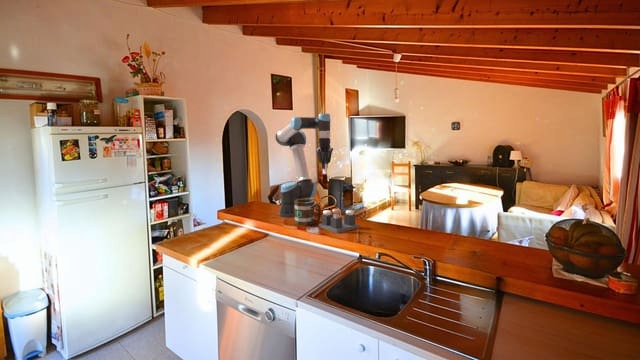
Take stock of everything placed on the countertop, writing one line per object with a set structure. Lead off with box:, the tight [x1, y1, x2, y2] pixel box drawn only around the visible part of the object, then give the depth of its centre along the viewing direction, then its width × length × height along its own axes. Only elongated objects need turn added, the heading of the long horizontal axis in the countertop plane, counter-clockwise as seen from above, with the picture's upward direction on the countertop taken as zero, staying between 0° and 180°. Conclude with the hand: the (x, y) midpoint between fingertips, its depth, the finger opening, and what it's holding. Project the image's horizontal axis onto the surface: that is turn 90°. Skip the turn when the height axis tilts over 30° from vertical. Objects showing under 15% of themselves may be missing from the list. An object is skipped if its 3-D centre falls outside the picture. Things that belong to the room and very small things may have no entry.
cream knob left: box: [345, 209, 355, 216], centre depth 217 cm, size 5×5×8 cm
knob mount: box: [318, 214, 360, 234], centre depth 218 cm, size 18×18×8 cm
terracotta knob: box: [331, 208, 341, 218], centre depth 210 cm, size 5×5×8 cm
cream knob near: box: [322, 209, 332, 216], centre depth 218 cm, size 5×5×8 cm
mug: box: [294, 198, 321, 227], centre depth 227 cm, size 20×14×15 cm
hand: (324, 173), depth 228 cm, fingers closed
